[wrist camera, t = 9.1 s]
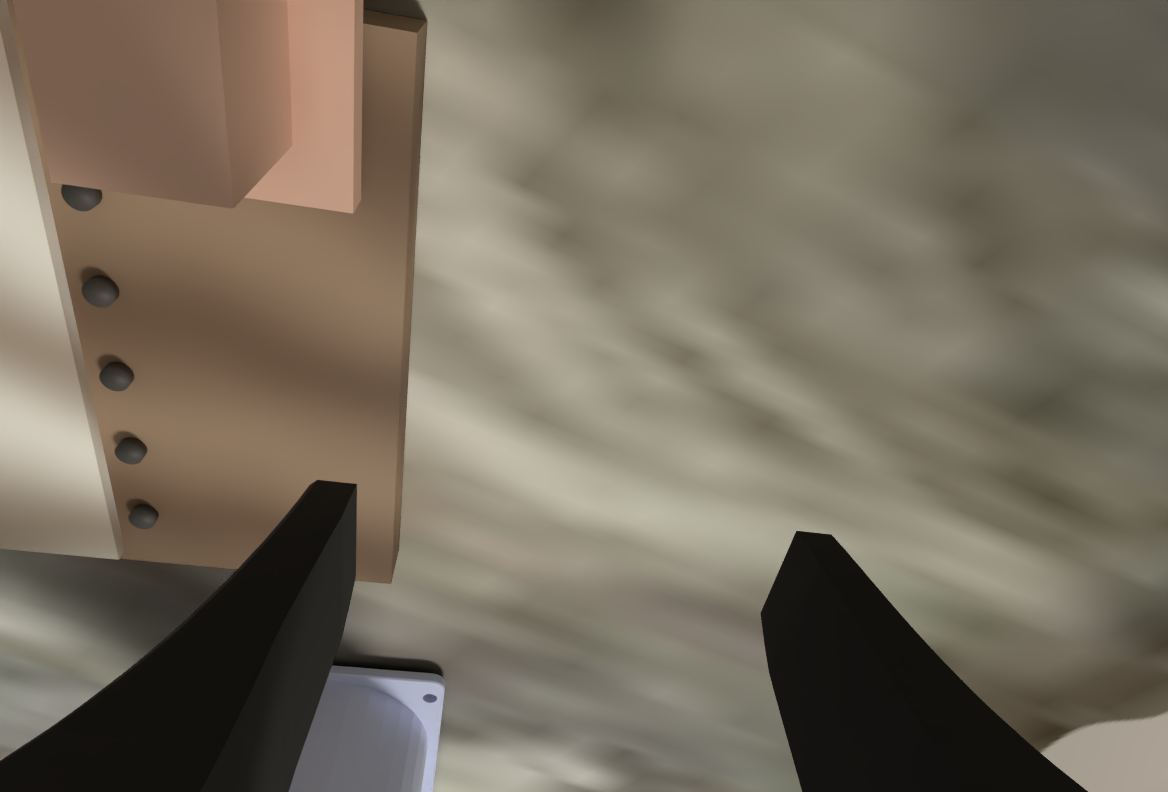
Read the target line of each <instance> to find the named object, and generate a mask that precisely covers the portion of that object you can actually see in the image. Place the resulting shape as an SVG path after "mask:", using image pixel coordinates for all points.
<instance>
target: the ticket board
mask: <svg viewBox="0 0 1168 792" xmlns="http://www.w3.org/2000/svg"><path fill="white" fill-rule="evenodd" d="M426 35H427V20H421V19H415V18H410V17H404V16H399V15H393V14H387V13H382V12H376V11H370V10H365V9H363V72H362V154H361V201H360V203H359V204H358V206H357V208H356V210H355V211H354V213H353V214H352V213H346V212H339V211H332V210H325V209H318V208H311V207H305V206H298V205H291V204H284V203H277V202H271V201H264V200H257V199H250V198H243V199H242V200H241V201H240V202H239V203H238V204H237V205H236V207H235V208H234V209H231V208H224V207H217V206H210V205H203V204H196V203H189V202H183V201H176V200H169V199H162V198H155V197H148V196H141V195H134V194H127V193H121V192H114V191H107V190H100V189H93V188H86V187H79V186H72V185H65V184H59V183H52V182H51V179H50V175H49V170H48V165H47V160H46V156H45V151H44V146H43V142H42V137H41V132H40V127H39V123H38V118H37V113H36V108H35V104H34V99H33V94H32V90H31V85H30V80H29V75H28V71H27V66H26V61H25V57H24V52H23V47H22V42H21V38H20V33H19V28H18V23H17V19H16V14H15V9H14V5H13V0H0V549H8V550H19V551H29V552H40V553H51V554H62V555H73V556H84V557H94V558H105V559H116V560H119V559H128V560H139V561H150V562H161V563H172V564H183V565H193V566H204V567H215V568H226V569H238V568H239V567H240V566H241V565H242V564H243V563H244V562H245V561H246V560H247V558H248V557H249V556H250V555H251V554H252V553H253V552H254V551H255V550H256V549H257V548H258V547H259V546H260V544H261V543H262V542H263V541H264V540H265V539H266V538H267V537H268V535H269V534H270V533H271V532H272V531H273V530H274V529H275V527H276V526H277V525H278V524H279V523H280V522H281V520H282V519H283V518H284V517H285V516H286V514H287V513H288V512H289V511H290V510H291V508H292V507H293V506H294V505H295V503H296V502H297V501H298V500H299V498H300V497H301V496H302V494H303V493H304V492H305V490H306V489H307V488H308V486H309V485H310V484H312V483H313V482H315V481H316V480H325V481H334V482H343V483H353V484H357V532H356V578H355V580H356V581H366V582H377V583H388V584H391V581H392V577H393V573H394V568H395V564H396V560H397V555H398V551H399V538H400V520H401V501H402V482H403V464H404V445H405V427H406V408H407V389H408V371H409V352H410V333H411V315H412V296H413V277H414V259H415V240H416V221H417V203H418V184H419V165H420V147H421V128H422V109H423V91H424V72H425V54H426Z"/></svg>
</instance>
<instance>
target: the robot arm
mask: <svg viewBox="0 0 1168 792" xmlns="http://www.w3.org/2000/svg"><path fill="white" fill-rule="evenodd" d="M356 532H357V484H353V483H343V482H334V481H325V480H316V481H315V482H313V483H312V484H310V485H309V486H308V488H307V489H306V490H305V492H304V493H303V494H302V496H301V497H300V498H299V500H298V501H297V502H296V503H295V505H294V506H293V507H292V508H291V510H290V511H289V512H288V513H287V514H286V516H285V517H284V518H283V519H282V520H281V522H280V523H279V524H278V525H277V526H276V527H275V529H274V530H273V531H272V532H271V533H270V534H269V535H268V537H267V538H266V539H265V540H264V541H263V542H262V543H261V544H260V546H259V547H258V548H257V549H256V550H255V551H254V552H253V553H252V554H251V555H250V556H249V557H248V558H247V560H246V561H245V562H244V563H243V564H242V565H241V566H240V567H239V568H238V569H237V570H236V571H235V572H234V573H233V575H232V576H231V577H230V578H229V579H228V580H227V581H226V582H225V583H224V584H223V585H222V586H221V587H220V588H219V589H217V590H216V591H215V592H214V593H213V594H212V595H211V596H210V597H209V598H208V599H207V600H206V601H205V602H204V603H203V604H202V605H201V606H200V607H199V608H198V609H197V610H196V611H195V612H194V613H193V614H192V615H191V616H189V617H188V618H187V619H186V620H185V621H184V622H183V623H182V624H181V625H180V626H179V627H177V628H176V629H175V630H174V631H173V632H172V633H171V634H170V635H169V636H167V637H166V638H165V639H164V640H163V641H162V642H160V643H159V644H158V645H157V646H156V647H155V648H154V649H152V650H151V651H150V652H149V653H148V654H146V655H145V656H144V657H143V658H141V659H140V660H139V661H138V662H137V663H135V664H134V665H133V666H132V667H131V668H129V669H128V670H127V671H126V672H124V673H123V674H122V675H121V676H119V677H118V678H117V679H115V680H114V681H113V682H111V683H110V684H109V685H107V686H106V687H105V688H104V689H102V690H101V691H100V692H98V693H97V694H96V695H94V696H93V697H92V698H90V699H89V700H88V701H87V702H85V703H84V704H83V705H81V706H80V707H79V708H77V709H76V710H74V711H73V712H72V713H70V714H69V715H67V716H66V717H65V718H63V719H62V720H61V721H59V722H58V723H56V724H55V725H53V726H52V727H51V728H49V729H48V730H46V731H45V732H43V733H42V734H40V735H39V736H37V737H36V738H34V739H33V740H31V741H30V742H28V743H26V744H25V745H23V746H22V747H20V748H19V749H17V750H16V751H14V752H13V753H11V754H10V755H8V756H7V757H5V758H4V759H2V760H1V761H0V792H433V787H434V779H435V770H436V761H437V753H438V744H439V735H440V726H441V718H442V709H443V700H444V691H445V680H444V678H443V677H442V676H440V675H438V674H433V673H422V672H409V671H397V670H384V669H372V668H359V667H346V666H334V665H332V664H333V661H334V658H335V655H336V653H337V650H338V647H339V644H340V641H341V638H342V635H343V631H344V626H345V622H346V618H347V613H348V609H349V605H350V600H351V596H352V591H353V587H354V582H355V578H356ZM761 620H762V627H763V635H764V643H765V650H766V656H767V662H768V668H769V673H770V677H771V681H772V685H773V689H774V692H775V696H776V700H777V703H778V707H779V710H780V714H781V718H782V721H783V725H784V728H785V732H786V735H787V739H788V742H789V746H790V750H791V753H792V757H793V760H794V764H795V767H796V771H797V774H798V778H799V781H800V785H801V789H802V792H1088V791H1086V790H1085V789H1084V788H1083V787H1081V786H1080V785H1079V784H1078V783H1076V782H1075V781H1074V780H1073V779H1071V778H1070V777H1069V776H1067V775H1066V774H1065V773H1064V772H1063V771H1061V770H1060V769H1059V768H1057V767H1056V766H1055V765H1054V764H1053V763H1051V762H1050V761H1049V760H1048V759H1047V758H1045V757H1044V756H1043V755H1042V754H1041V753H1040V752H1038V751H1037V750H1036V749H1035V748H1034V747H1033V746H1031V745H1030V744H1029V743H1028V742H1027V741H1026V740H1025V739H1024V738H1022V737H1021V736H1020V735H1019V734H1018V733H1017V732H1016V731H1015V730H1014V729H1012V728H1011V727H1010V726H1009V725H1008V724H1007V723H1006V722H1005V721H1004V720H1002V719H1001V718H1000V717H999V716H998V715H997V714H996V713H995V712H994V711H993V710H991V709H990V708H989V707H988V706H987V705H986V704H985V703H984V702H983V701H982V700H981V699H980V698H979V697H978V696H977V695H976V694H975V693H974V692H973V691H972V690H971V689H970V688H969V687H968V686H967V685H966V684H965V683H964V682H963V681H962V680H961V679H960V678H959V677H958V676H957V675H956V674H955V673H954V672H953V671H952V670H951V669H950V668H949V667H948V666H947V665H946V664H945V663H944V662H943V661H942V660H941V658H940V657H939V656H938V655H937V654H936V653H935V652H934V651H933V650H932V649H931V648H930V647H929V646H928V645H927V643H926V642H925V641H924V640H923V639H922V638H921V637H920V636H919V635H918V634H917V632H916V631H915V630H914V629H913V628H912V627H911V626H910V625H909V624H908V622H907V621H906V620H905V619H904V618H903V617H902V616H901V615H900V613H899V612H898V611H897V610H896V609H895V608H894V606H893V605H892V604H891V603H890V602H889V601H888V600H887V598H886V597H885V596H884V595H883V594H882V593H881V591H880V590H879V589H878V588H877V587H876V586H875V584H874V583H873V582H872V581H871V580H870V579H869V577H868V576H867V575H866V574H865V573H864V571H863V570H862V569H861V568H860V567H859V566H858V564H857V563H856V562H855V561H854V560H853V559H852V557H851V556H850V555H849V554H848V553H847V552H846V550H845V549H844V548H843V547H842V546H841V545H840V544H839V543H838V541H837V540H836V539H835V538H834V537H833V536H832V535H830V534H820V533H811V532H802V531H796V533H795V536H794V538H793V540H792V543H791V545H790V547H789V549H788V552H787V554H786V556H785V559H784V561H783V563H782V565H781V568H780V570H779V572H778V575H777V577H776V579H775V581H774V584H773V586H772V588H771V591H770V593H769V595H768V598H767V600H766V602H765V604H764V607H763V609H762V611H761Z"/></svg>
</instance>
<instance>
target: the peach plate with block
mask: <svg viewBox="0 0 1168 792" xmlns="http://www.w3.org/2000/svg"><path fill="white" fill-rule="evenodd" d="M13 5H14V9H15V14H16V19H17V23H18V28H19V33H20V38H21V42H22V47H23V52H24V57H25V61H26V66H27V71H28V75H29V80H30V85H31V90H32V94H33V99H34V104H35V108H36V113H37V118H38V123H39V127H40V132H41V137H42V142H43V146H44V151H45V156H46V160H47V165H48V170H49V175H50V179H51V182H52V183H59V184H65V185H72V186H79V187H86V188H93V189H100V190H107V191H114V192H121V193H127V194H134V195H141V196H148V197H155V198H162V199H169V200H176V201H183V202H189V203H196V204H203V205H210V206H217V207H224V208H231V209H234V208H235V207H236V205H237V204H238V203H239V202H240V201H241V200H242V199H243V198H250V199H257V200H264V201H271V202H277V203H284V204H291V205H298V206H305V207H311V208H318V209H325V210H332V211H339V212H346V213H352V214H353V213H354V211H355V210H356V208H357V206H358V204H359V203H360V201H361V154H362V72H363V0H13Z"/></svg>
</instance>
